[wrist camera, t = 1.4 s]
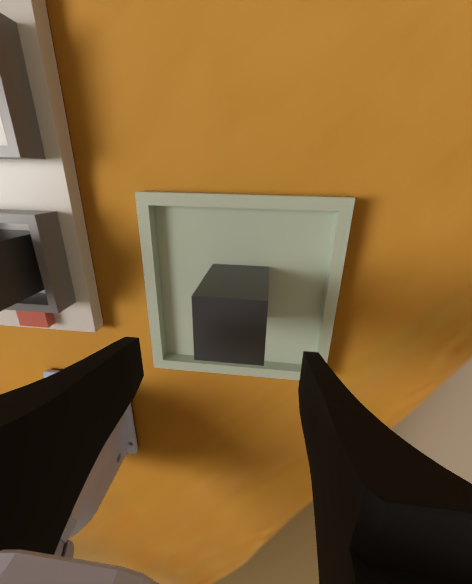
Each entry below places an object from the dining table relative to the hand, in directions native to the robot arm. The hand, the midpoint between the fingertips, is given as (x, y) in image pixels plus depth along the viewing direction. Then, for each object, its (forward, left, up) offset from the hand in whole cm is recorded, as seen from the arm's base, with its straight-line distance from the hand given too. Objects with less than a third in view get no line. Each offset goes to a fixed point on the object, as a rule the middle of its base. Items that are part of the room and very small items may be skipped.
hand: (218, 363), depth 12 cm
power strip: (+7, +16, -10) cm, 20 cm away
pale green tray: (0, 0, -10) cm, 10 cm away
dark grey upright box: (0, 0, -9) cm, 9 cm away
